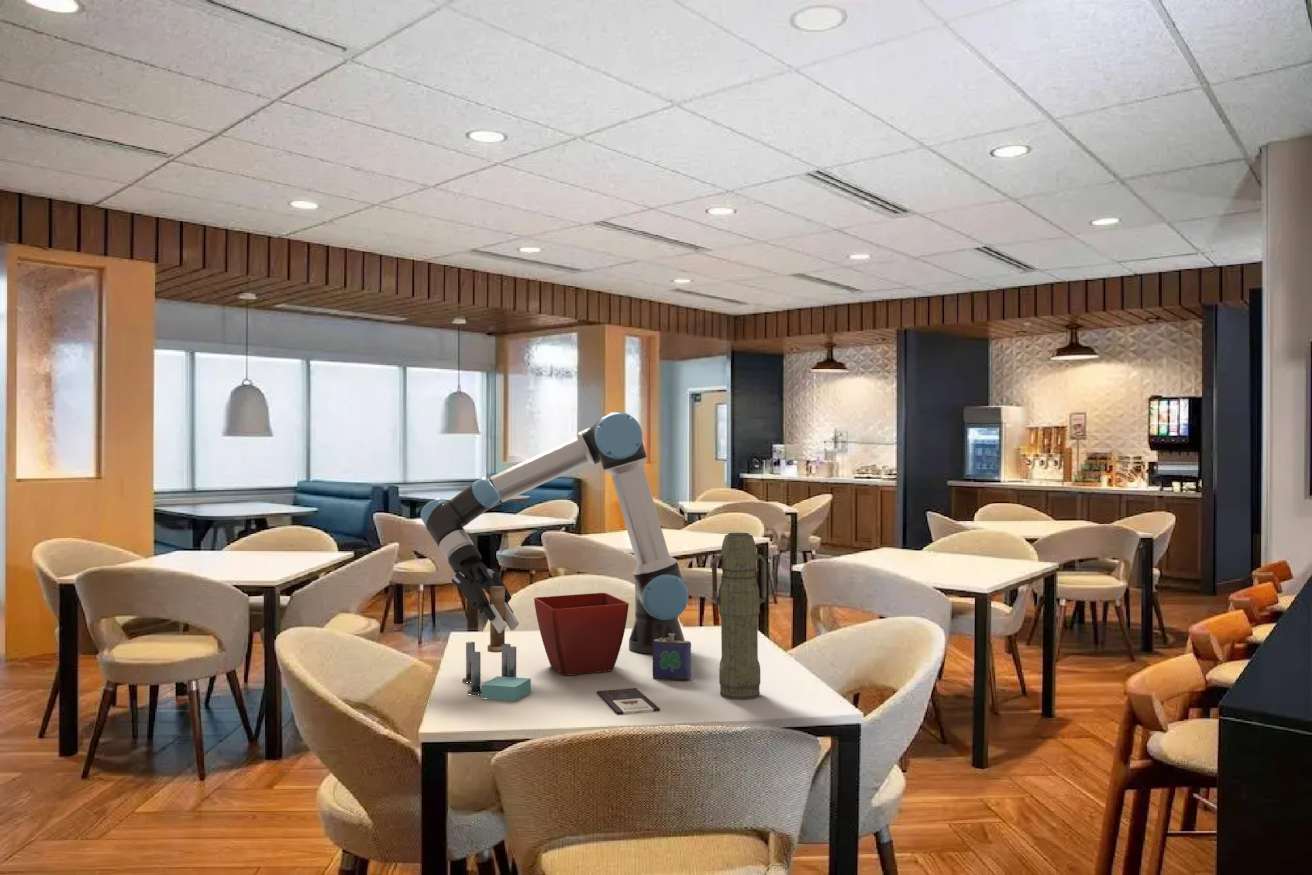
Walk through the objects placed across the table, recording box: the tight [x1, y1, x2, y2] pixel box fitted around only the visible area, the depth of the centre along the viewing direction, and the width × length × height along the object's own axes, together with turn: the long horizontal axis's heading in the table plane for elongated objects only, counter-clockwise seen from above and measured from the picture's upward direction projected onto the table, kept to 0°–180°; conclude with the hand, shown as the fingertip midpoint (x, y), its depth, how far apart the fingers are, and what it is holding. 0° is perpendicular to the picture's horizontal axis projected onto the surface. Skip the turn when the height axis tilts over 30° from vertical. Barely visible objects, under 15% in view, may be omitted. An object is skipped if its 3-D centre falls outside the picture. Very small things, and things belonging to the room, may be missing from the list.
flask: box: [652, 633, 692, 682], centre depth 221 cm, size 9×3×11 cm, turn 74°
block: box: [480, 675, 532, 702], centre depth 207 cm, size 8×8×3 cm
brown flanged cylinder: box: [487, 586, 506, 654], centre depth 225 cm, size 5×5×15 cm
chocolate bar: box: [596, 687, 661, 716], centre depth 201 cm, size 9×1×18 cm
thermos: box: [711, 532, 768, 701], centre depth 207 cm, size 9×12×35 cm
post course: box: [462, 641, 517, 696], centre depth 213 cm, size 15×14×9 cm
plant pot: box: [533, 592, 630, 677], centre depth 232 cm, size 19×19×17 cm
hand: (509, 628), depth 222 cm, fingers closed on brown flanged cylinder, 3 cm apart
